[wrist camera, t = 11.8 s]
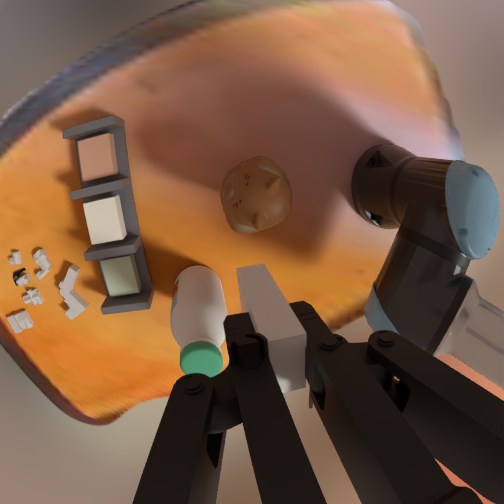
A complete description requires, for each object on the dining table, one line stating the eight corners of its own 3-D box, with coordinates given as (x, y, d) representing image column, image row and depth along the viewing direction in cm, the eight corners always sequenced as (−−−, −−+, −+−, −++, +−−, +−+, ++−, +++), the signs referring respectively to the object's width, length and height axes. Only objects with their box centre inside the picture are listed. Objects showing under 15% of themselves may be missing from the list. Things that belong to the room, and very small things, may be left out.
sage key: (132, 250, 42) (129, 256, 39) (141, 286, 44) (139, 292, 41) (104, 255, 41) (99, 261, 39) (114, 289, 43) (110, 296, 41)
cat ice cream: (228, 150, 41) (249, 145, 24) (276, 169, 43) (325, 179, 26) (207, 204, 43) (213, 237, 26) (254, 221, 45) (289, 262, 28)
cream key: (119, 194, 37) (114, 196, 35) (126, 234, 39) (122, 239, 37) (88, 201, 37) (82, 203, 34) (97, 240, 39) (91, 244, 36)
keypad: (123, 119, 36) (113, 115, 31) (154, 292, 46) (149, 308, 41) (77, 132, 35) (62, 130, 30) (111, 298, 45) (102, 314, 39)
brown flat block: (113, 134, 36) (108, 133, 33) (118, 173, 38) (114, 174, 35) (83, 142, 35) (77, 141, 33) (88, 180, 37) (83, 182, 35)
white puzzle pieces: (-23, 245, 36) (-29, 249, 34) (54, 199, 38) (48, 202, 36) (18, 331, 43) (14, 337, 41) (99, 306, 45) (96, 312, 43)
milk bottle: (187, 255, 45) (182, 325, 26) (229, 276, 47) (251, 352, 29) (167, 294, 46) (154, 377, 28) (208, 313, 49) (217, 398, 30)
